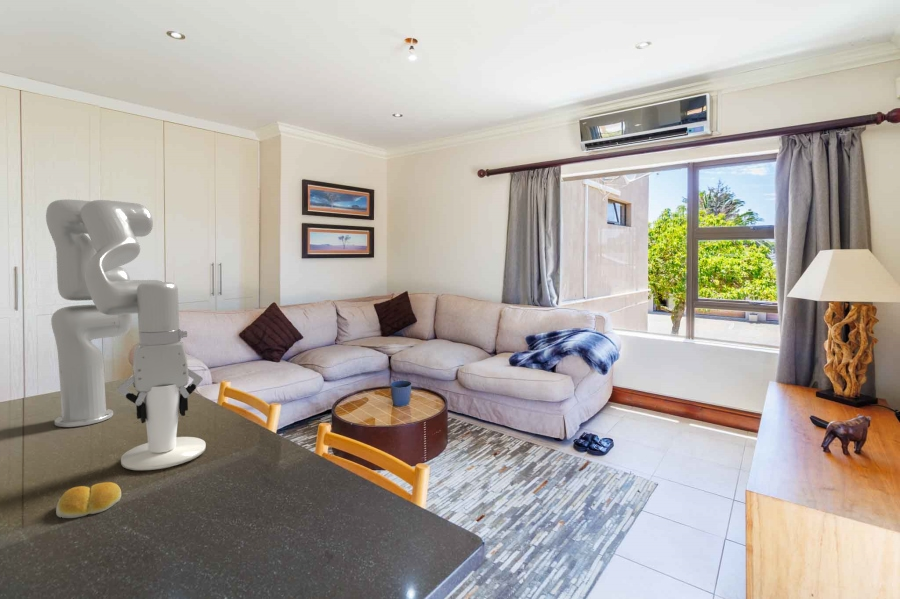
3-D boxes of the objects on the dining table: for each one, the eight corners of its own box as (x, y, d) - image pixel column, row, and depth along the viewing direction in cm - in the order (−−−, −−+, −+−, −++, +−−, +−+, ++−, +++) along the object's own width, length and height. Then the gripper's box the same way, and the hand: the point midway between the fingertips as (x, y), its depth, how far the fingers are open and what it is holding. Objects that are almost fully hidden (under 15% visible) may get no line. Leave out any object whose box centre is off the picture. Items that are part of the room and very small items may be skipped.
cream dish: (119, 454, 103) (118, 447, 103) (198, 437, 113) (198, 431, 113) (123, 480, 91) (123, 473, 90) (212, 459, 101) (212, 452, 100)
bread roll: (120, 509, 80) (119, 487, 80) (53, 525, 75) (52, 502, 75) (122, 490, 87) (121, 470, 87) (61, 503, 82) (60, 482, 82)
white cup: (163, 456, 98) (163, 388, 97) (136, 453, 99) (136, 385, 98) (186, 445, 104) (187, 380, 104) (161, 442, 106) (161, 378, 105)
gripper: (200, 332, 108) (203, 406, 110) (109, 339, 97) (113, 421, 99) (207, 336, 102) (210, 414, 104) (111, 345, 91) (115, 431, 93)
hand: (163, 417), depth 101 cm, fingers open, 6 cm apart
